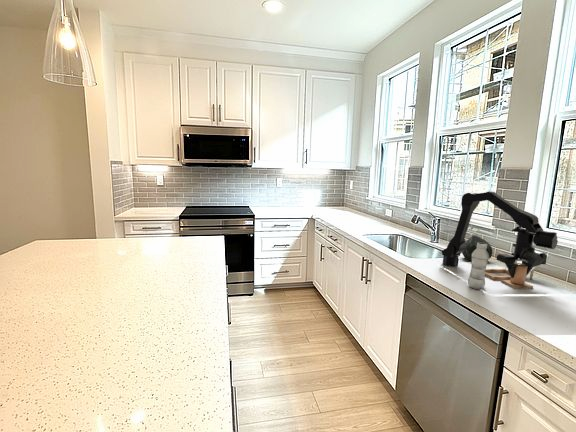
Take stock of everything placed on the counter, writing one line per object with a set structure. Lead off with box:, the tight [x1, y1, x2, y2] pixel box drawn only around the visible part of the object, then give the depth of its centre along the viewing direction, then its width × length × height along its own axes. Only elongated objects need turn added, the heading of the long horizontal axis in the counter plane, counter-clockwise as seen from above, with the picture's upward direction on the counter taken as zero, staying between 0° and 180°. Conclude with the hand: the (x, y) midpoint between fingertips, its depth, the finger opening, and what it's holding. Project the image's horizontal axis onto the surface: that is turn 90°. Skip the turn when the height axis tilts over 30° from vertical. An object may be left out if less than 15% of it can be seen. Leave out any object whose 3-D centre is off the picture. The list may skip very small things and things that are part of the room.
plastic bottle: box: [467, 242, 490, 291], centre depth 131 cm, size 6×7×20 cm
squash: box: [461, 234, 493, 262], centre depth 173 cm, size 14×15×15 cm
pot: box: [510, 263, 528, 284], centre depth 134 cm, size 5×5×8 cm
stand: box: [500, 280, 534, 290], centre depth 135 cm, size 9×7×2 cm
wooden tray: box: [485, 268, 511, 281], centre depth 146 cm, size 15×11×2 cm
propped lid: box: [504, 250, 550, 280], centre depth 147 cm, size 11×11×13 cm
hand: (517, 277), depth 134 cm, fingers closed on pot, 5 cm apart
